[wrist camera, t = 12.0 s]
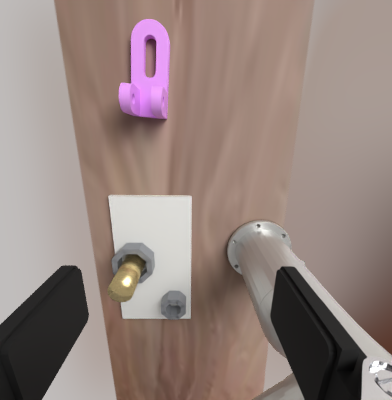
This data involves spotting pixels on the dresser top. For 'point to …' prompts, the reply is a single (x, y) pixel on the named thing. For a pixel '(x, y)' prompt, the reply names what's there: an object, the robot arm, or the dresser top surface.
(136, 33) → the bracket
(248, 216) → the dresser top surface
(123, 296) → the brass pipe fitting
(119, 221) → the fitting board
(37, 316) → the robot arm
